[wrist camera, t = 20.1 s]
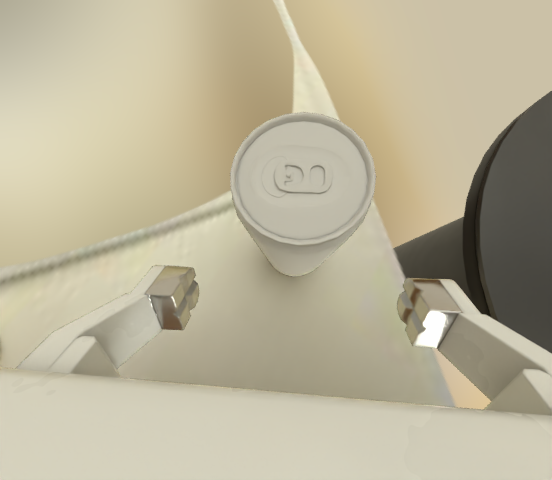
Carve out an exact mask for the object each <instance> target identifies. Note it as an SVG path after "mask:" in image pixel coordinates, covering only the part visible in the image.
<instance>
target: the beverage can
mask: <svg viewBox="0 0 552 480" xmlns="http://www.w3.org/2000/svg"><path fill="white" fill-rule="evenodd" d="M230 180H231V192H232V200H233V204H234V207H235V210H236V213H237V216H238V218H239V219H240V221H241V222H242V224H243V225H244V227H245V228H246V230H247V231H248V233H249V234H250V235H251V237H252V238H253V240H254V241H255V242H256V244H257V245H258V247H259V248H260V249H261V251H262V252H263V254H264V255H265V256H266V258H267V259H268V260H269V262H270V263H271V265H272V266H273V267H274V268H275V269H276V270H278V271H279V272H281V273H283V274H285V275H288V276H294V277H296V276H303V275H305V274H308V273H310V272H312V271H314V270H315V269H317V268H318V267H319V266H320V265H321V264H322V263H323V262H324V261H325V260H326V259H327V258H328V257H329V256H330V255H331V254H333V253H334V252H335V251H336V250H337V249H338V248H339V247H340V246H341V245H342V244H343V243H344V242H345V241H346V240H347V239H348V238H349V237H350V236H351V235H352V234H353V233H354V232H355V230H356V229H357V228H358V227H359V226H360V224H361V223H362V222H363V221H364V218H365V216H366V214H367V211H368V209H369V207H370V205H371V200H372V197H373V195H374V188H375V180H376V174H375V168H374V163H373V158H372V157H371V154H370V152H369V150H368V148H367V146H366V144H365V143H364V141H363V140H362V139H361V138H360V137H359V136H358V135H357V134H356V133H355V131H354V130H352V129H351V128H349V127H348V126H346V125H345V124H343V123H342V122H341V121H339V120H337V119H334V118H331V117H328V116H325V115H323V114H316V113H308V112H300V113H291V114H285V115H282V116H279V117H277V118H273V119H270V120H268V121H267V122H265V123H264V124H262V125H261V126H259V127H257V128H256V129H255V130H254V131H253V132H252V133H251V134H250V135H249V136H248V137H247V138H246V139H245V140H244V141H243V142H242V144H241V146H240V148H239V150H238V151H237V153H236V155H235V157H234V161H233V164H232V169H231V173H230Z"/></svg>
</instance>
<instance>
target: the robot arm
mask: <svg viewBox="0 0 552 480" xmlns="http://www.w3.org/2000/svg"><path fill="white" fill-rule="evenodd" d="M195 276H196V274H195V271H194V269H193V268H192V267H179V266H162V265H155V266H152V268H151V269H150V270H149V271H148V272H147V274H146V275H145V276H144V277H143V278H142V279H141V281H140V282H139V283H138V284H137V285H136V287H135V288H134V289H133V290H132V291H131V293H130V294H127V293H126V294H124V295H122V296H120V297H118V298H116V299H114V300H112V301H110V302H109V303H107V304H105V305H103V306H101V307H99V308H97V309H95V310H93V311H91V312H90V313H88V314H86V315H84V316H82V317H80V318H78V319H76V320H74V321H72V322H71V323H69V324H67V325H65V326H63V327H61V328H59V329H57V330H55V331H53V332H52V333H51V334H50V335H49V336H48V337H47V338H46V339H45V340H44V341H43V342H42V343H41V344H40V345H39V346H38V347H37V348H36V349H35V350H34V351H33V352H31V353H30V354H29V355H28V356H27V357H26V358H25V359H24V360H23V361H22V362H21V363H20V364H19V365H18V366H17V367H16V368H15V369H13V368H2V367H0V480H552V353H550V352H548V351H547V350H545V349H543V348H541V347H540V346H538V345H536V344H535V343H533V342H531V341H530V340H528V339H526V338H525V337H523V336H521V335H520V334H518V333H516V332H515V331H513V330H511V329H509V328H508V327H506V326H504V325H503V324H501V323H499V322H498V321H496V320H494V319H493V318H491V317H489V316H488V315H483V314H481V313H480V312H479V311H478V310H477V308H476V307H475V306H474V305H473V303H472V302H471V301H470V300H469V298H468V297H467V296H466V295H465V293H464V292H463V291H462V290H461V289H460V287H459V286H458V285H457V284H456V282H455V281H453V280H451V279H418V278H407V279H406V280H405V281H404V284H403V288H404V290H405V291H404V292H403V293H401V294H400V295H399V298H398V301H397V310H398V314H399V317H400V319H401V320H402V321H403V322H404V323H405V324H407V327H406V329H405V331H406V333H407V335H408V337H409V340H410V342H411V344H412V346H416V347H426V348H437V349H438V351H439V352H441V353H442V354H443V355H444V356H445V357H446V358H447V359H448V360H449V361H450V362H451V363H452V364H453V365H454V366H455V367H456V368H457V369H458V370H459V371H460V372H461V373H462V374H464V375H465V376H466V377H467V378H468V379H469V380H470V381H471V382H472V383H473V384H474V385H475V386H476V387H477V388H478V389H479V390H480V391H481V392H482V393H483V394H484V395H485V396H487V397H488V398H489V399H490V400H491V401H492V402H491V403H490V404H489V405H488V406H487V407H486V408H485V409H484V410H481V409H469V408H458V407H446V406H435V405H424V404H412V403H401V402H389V401H378V400H366V399H355V398H344V397H332V396H321V395H310V394H298V393H287V392H276V391H264V390H253V389H242V388H230V387H219V386H207V385H196V384H185V383H173V382H162V381H150V380H139V379H128V378H122V377H121V375H120V374H119V372H118V371H117V368H118V367H120V366H121V365H122V364H123V363H124V362H126V361H127V360H128V359H129V358H130V357H131V356H133V355H134V354H135V353H136V352H137V351H139V350H140V349H141V348H142V347H143V346H144V345H146V344H147V343H148V342H149V341H150V340H151V339H153V338H154V337H155V336H156V335H157V334H159V333H160V332H161V331H162V329H168V330H184V329H185V327H186V325H187V323H188V321H189V318H190V316H191V315H190V312H189V311H190V310H191V309H193V308H194V307H195V306H196V304H197V302H198V297H199V286H198V283H197V282H195V281H194V278H195Z"/></svg>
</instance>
